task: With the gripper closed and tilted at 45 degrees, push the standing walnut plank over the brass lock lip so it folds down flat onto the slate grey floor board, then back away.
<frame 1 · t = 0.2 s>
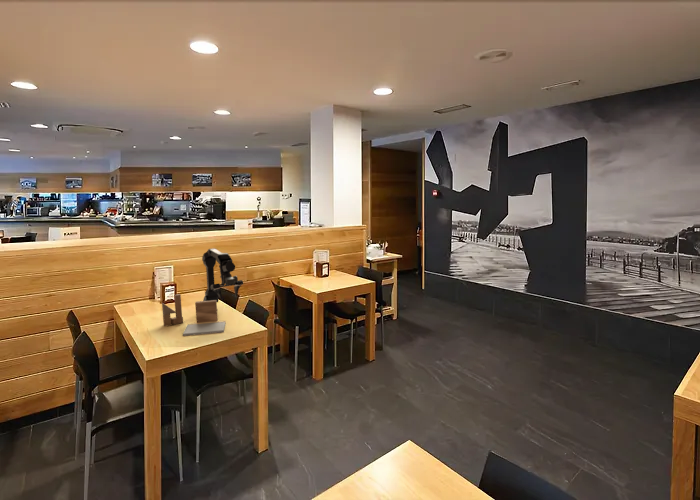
hand: (229, 298, 243), 16 cm above the table, tool pointing down, fingers open, 9 cm apart
walnut plank: (207, 323, 246), on the table
slate floor board: (205, 329, 236), on the table
wooden block: (173, 324, 247), on the table
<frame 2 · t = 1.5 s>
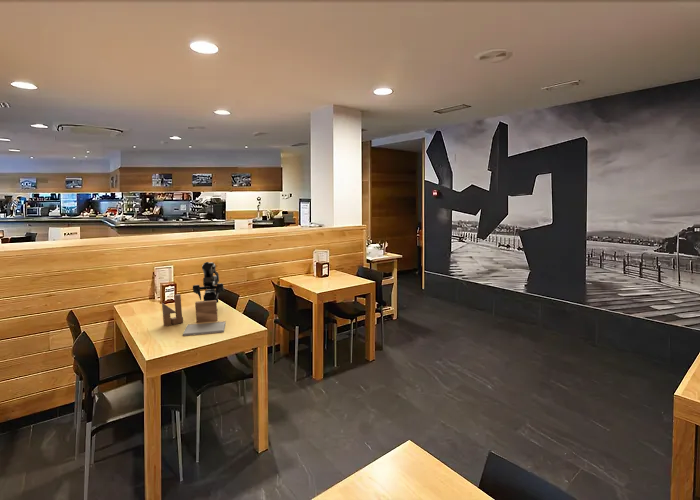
hand: (208, 299, 255), 12 cm above the table, tool tilted 45°, fingers open, 9 cm apart
nothing on the table moved.
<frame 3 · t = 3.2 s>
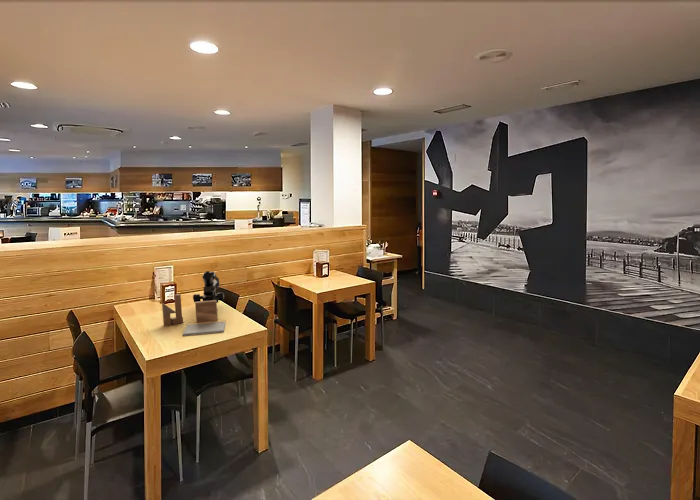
hand: (208, 308, 255), 7 cm above the table, tool tilted 45°, fingers closed
nothing on the table moved.
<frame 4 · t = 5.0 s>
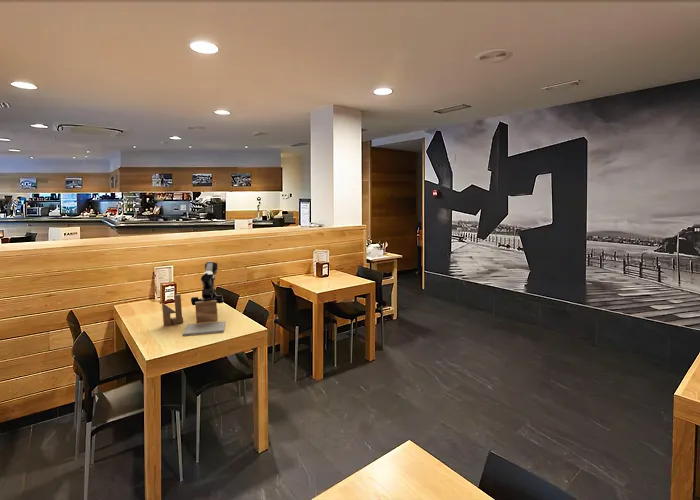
hand: (206, 311, 247), 7 cm above the table, tool tilted 45°, fingers closed, pressing on walnut plank
walnut plank: (207, 323, 246), on the table, touching gripper
everything else where it was.
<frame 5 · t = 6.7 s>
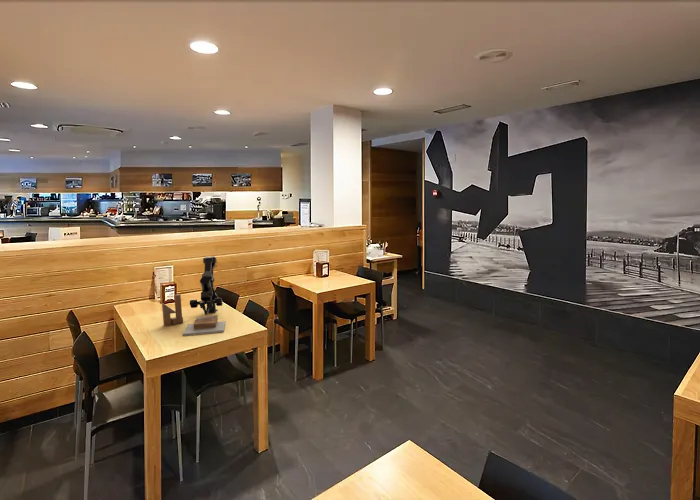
hand: (205, 314, 242), 7 cm above the table, tool tilted 45°, fingers closed
walnut plank: (207, 318, 247), point 3 cm above the table, tilted 91°, touching slate floor board
everything else where it was.
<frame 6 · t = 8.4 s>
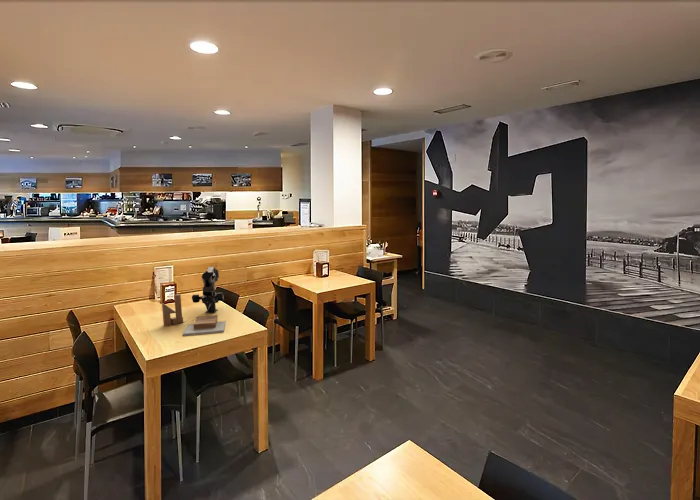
hand: (207, 309, 252), 7 cm above the table, tool tilted 45°, fingers closed
nothing on the table moved.
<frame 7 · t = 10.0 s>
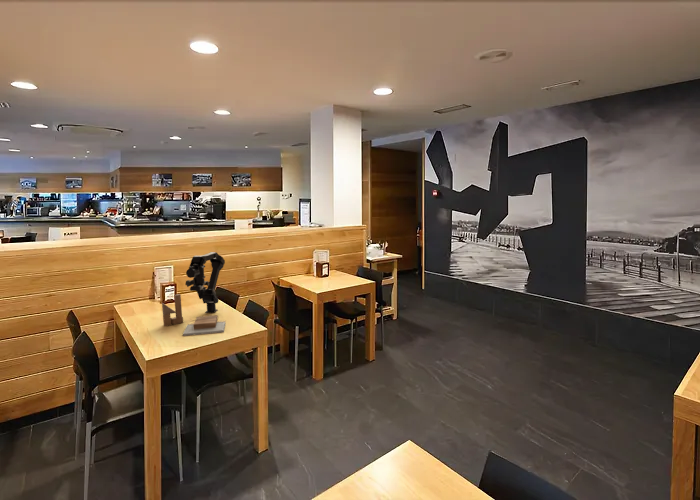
hand: (200, 298, 258), 12 cm above the table, tool pointing down, fingers closed
nothing on the table moved.
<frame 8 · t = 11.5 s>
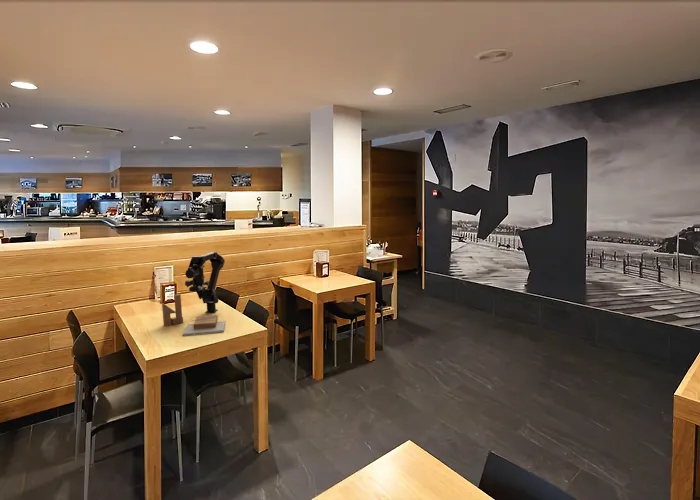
hand: (200, 299, 258), 12 cm above the table, tool pointing down, fingers closed
nothing on the table moved.
at the end: walnut plank tilted 91°; walnut plank inside the target area on the slate floor board (2.9 cm from its centre), point 3.0 cm above the slate floor board's base; walnut plank touching slate floor board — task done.
